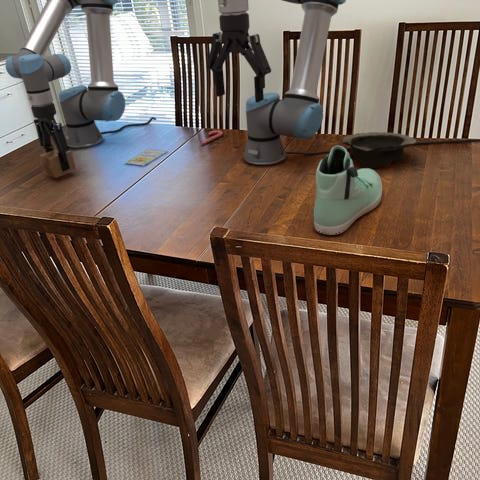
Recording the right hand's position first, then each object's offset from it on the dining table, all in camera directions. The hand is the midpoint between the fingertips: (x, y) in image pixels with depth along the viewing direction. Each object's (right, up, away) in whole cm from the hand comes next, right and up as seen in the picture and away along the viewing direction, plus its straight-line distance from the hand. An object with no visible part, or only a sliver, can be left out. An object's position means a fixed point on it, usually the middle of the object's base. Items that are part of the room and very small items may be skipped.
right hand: (239, 98), depth 131 cm
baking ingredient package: (-36, -7, +53) cm, 65 cm away
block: (-65, -14, +42) cm, 79 cm away
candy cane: (-12, +3, +66) cm, 67 cm away
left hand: (-65, -13, +41) cm, 78 cm away
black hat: (+48, -10, +37) cm, 62 cm away
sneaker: (+32, -30, +8) cm, 44 cm away
